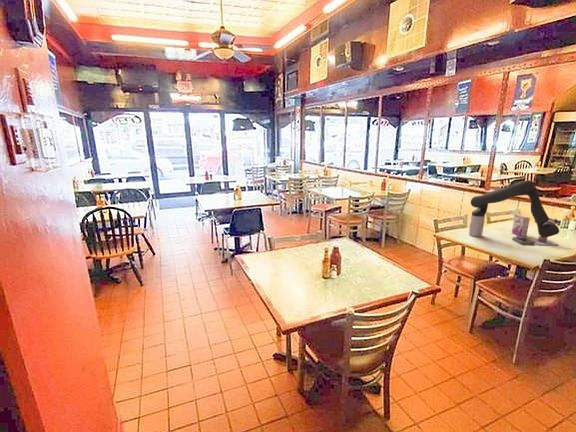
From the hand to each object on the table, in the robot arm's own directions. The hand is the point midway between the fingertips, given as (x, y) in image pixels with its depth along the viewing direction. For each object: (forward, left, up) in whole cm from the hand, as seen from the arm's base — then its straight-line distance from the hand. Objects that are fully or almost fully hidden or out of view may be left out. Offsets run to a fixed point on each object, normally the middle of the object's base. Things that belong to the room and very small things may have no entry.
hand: (547, 219), depth 226 cm
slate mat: (-9, +6, -21) cm, 24 cm away
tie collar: (-10, -8, -21) cm, 25 cm away
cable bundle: (-9, +6, -21) cm, 23 cm away
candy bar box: (-27, 0, -21) cm, 34 cm away
